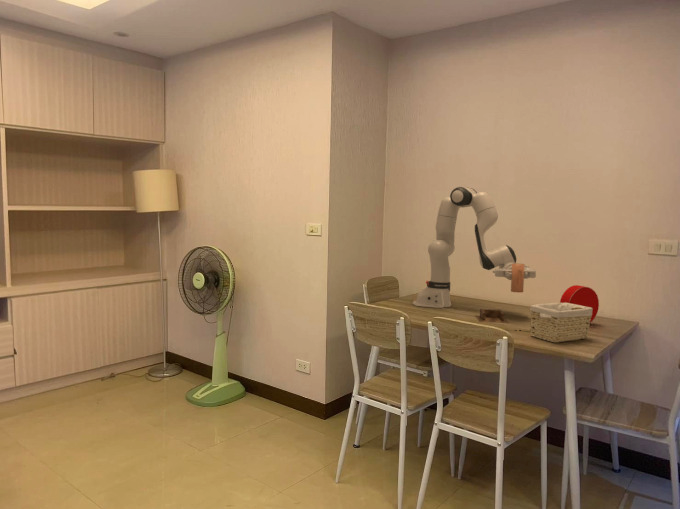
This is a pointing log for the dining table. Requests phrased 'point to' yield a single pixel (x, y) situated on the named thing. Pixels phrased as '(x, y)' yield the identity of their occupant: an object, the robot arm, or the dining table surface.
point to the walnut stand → (491, 316)
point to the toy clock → (582, 298)
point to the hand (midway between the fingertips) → (518, 275)
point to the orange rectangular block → (517, 277)
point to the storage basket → (560, 321)
